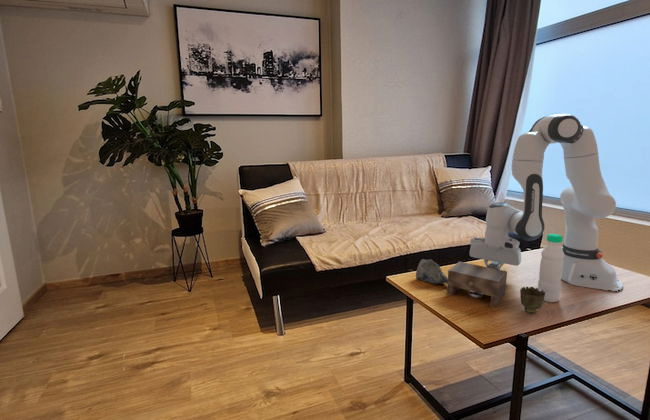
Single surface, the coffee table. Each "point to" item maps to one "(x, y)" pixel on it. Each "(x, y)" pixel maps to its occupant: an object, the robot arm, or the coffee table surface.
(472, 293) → the steel disc
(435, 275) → the mineral rock
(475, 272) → the brown bridge block
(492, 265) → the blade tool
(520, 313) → the coffee table surface
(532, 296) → the cup
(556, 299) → the water bottle
